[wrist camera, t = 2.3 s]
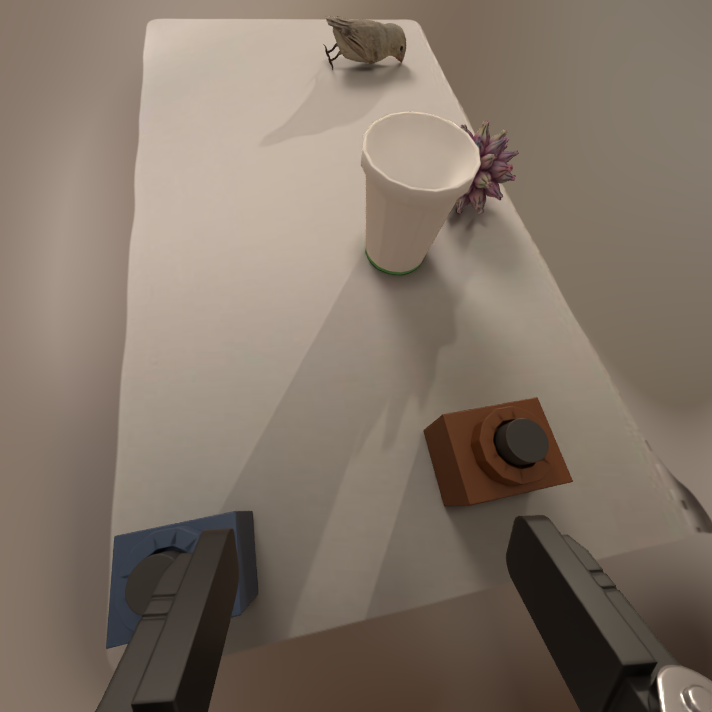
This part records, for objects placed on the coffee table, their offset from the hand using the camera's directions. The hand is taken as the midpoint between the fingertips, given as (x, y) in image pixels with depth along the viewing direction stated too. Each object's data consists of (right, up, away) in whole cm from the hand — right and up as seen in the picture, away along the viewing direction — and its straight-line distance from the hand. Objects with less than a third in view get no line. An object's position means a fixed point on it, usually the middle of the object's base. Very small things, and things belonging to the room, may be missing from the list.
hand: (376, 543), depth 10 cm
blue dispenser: (-15, -14, +22) cm, 30 cm away
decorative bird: (+1, +63, +59) cm, 86 cm away
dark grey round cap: (-14, -10, +14) cm, 22 cm away
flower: (+16, +29, +44) cm, 56 cm away
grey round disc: (+13, -2, +20) cm, 24 cm away
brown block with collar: (+13, -6, +28) cm, 31 cm away
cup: (+5, +20, +39) cm, 45 cm away
